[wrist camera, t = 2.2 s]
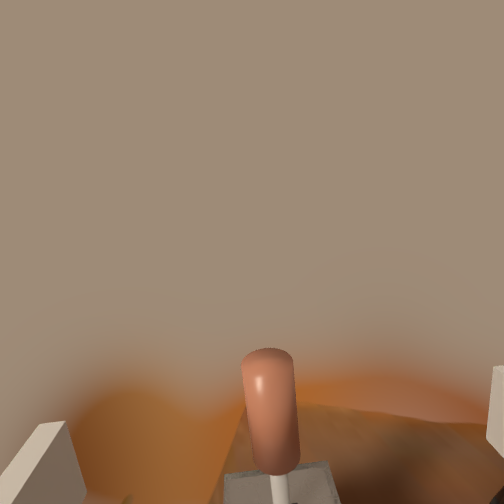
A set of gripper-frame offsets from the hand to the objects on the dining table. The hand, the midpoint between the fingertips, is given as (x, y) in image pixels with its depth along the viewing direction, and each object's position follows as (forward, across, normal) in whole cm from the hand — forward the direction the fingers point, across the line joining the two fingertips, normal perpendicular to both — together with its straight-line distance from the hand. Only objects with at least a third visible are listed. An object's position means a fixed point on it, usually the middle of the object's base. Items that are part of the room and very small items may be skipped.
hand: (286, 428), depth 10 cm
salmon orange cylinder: (+12, 0, -29) cm, 32 cm away
